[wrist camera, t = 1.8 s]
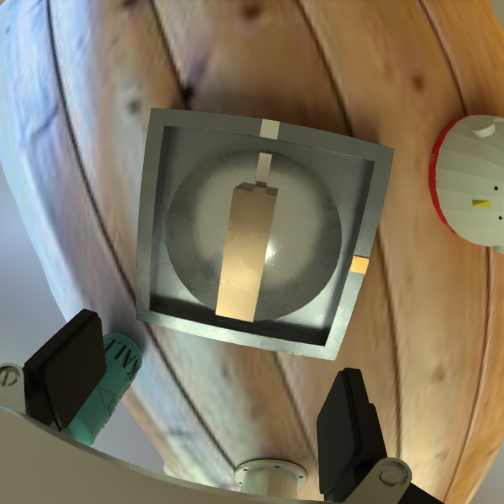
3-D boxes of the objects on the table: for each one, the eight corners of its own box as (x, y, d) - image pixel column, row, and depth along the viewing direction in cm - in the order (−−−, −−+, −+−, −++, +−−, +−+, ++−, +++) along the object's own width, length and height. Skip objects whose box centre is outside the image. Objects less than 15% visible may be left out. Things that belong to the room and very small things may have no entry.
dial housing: (330, 338, 33) (335, 361, 29) (150, 302, 34) (135, 320, 30) (380, 149, 27) (395, 149, 23) (167, 112, 28) (150, 107, 24)
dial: (316, 327, 30) (321, 364, 25) (164, 297, 31) (141, 326, 26) (357, 169, 25) (376, 173, 20) (179, 138, 26) (152, 135, 20)
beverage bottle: (108, 358, 38) (33, 459, 19) (103, 318, 36) (8, 420, 17) (150, 370, 38) (84, 486, 19) (147, 330, 36) (62, 451, 17)
